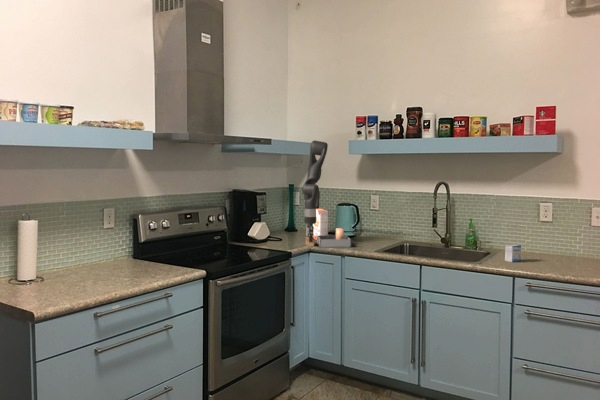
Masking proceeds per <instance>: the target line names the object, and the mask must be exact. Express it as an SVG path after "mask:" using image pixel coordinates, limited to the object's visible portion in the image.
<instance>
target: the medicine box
mask: <svg viewBox="0 0 600 400" xmlns="http://www.w3.org/2000/svg"><path fill="white" fill-rule="evenodd" d="M504 249H505V251H504V252H505V253H504V261H505V262H508V263H509V262H510V263H516V262H520V261H521V260H522V245H521V244H517V243H516V244H515V243H514V244H507V245H505V248H504Z"/></svg>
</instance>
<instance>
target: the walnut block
mask: <svg viewBox="0 0 600 400" xmlns="http://www.w3.org/2000/svg"><path fill="white" fill-rule="evenodd" d="M305 246H306V247H314V246H315V239H314V237H313V242H309V237H308V236H305Z"/></svg>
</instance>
